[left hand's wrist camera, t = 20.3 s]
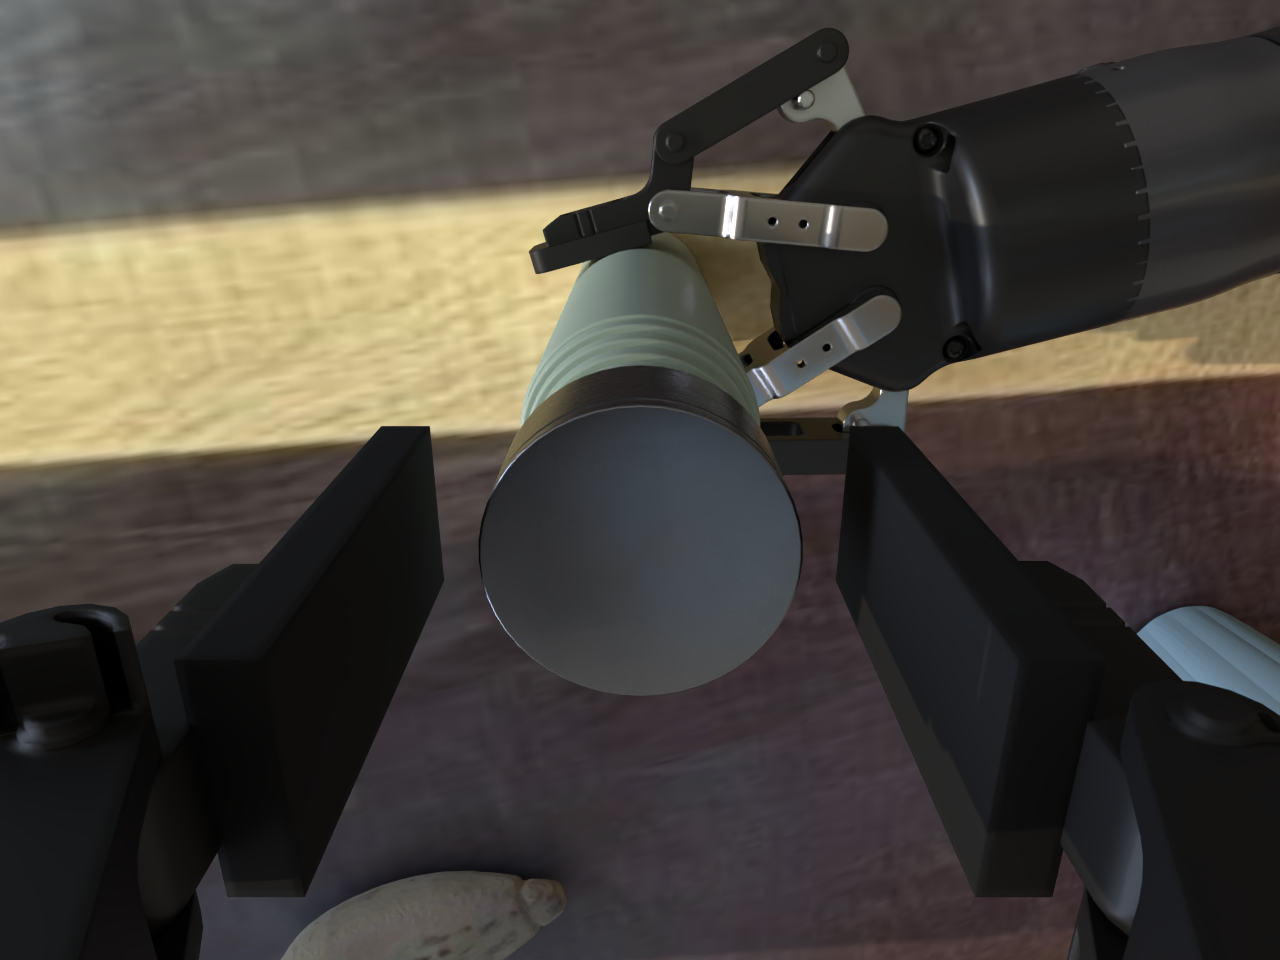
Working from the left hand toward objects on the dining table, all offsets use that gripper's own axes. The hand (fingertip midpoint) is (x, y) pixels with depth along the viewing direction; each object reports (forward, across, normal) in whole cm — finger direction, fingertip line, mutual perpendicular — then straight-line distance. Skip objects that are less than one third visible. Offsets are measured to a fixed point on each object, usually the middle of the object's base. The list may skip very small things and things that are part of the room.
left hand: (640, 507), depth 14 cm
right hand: (+15, -2, -1) cm, 15 cm away
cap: (-2, 0, 0) cm, 2 cm away
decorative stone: (+21, -11, -32) cm, 40 cm away
